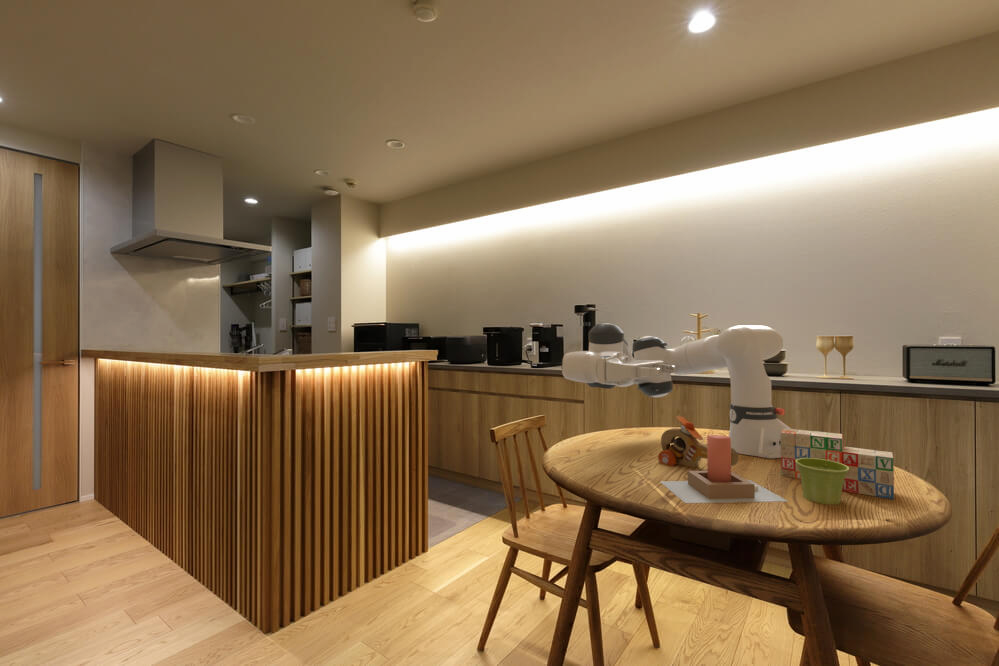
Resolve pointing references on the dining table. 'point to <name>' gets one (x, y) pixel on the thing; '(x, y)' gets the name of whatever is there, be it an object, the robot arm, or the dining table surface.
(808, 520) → the dining table surface
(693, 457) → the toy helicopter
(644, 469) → the dining table surface
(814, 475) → the plant pot
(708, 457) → the pink cylinder peg
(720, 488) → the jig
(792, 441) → the stack of blocks
